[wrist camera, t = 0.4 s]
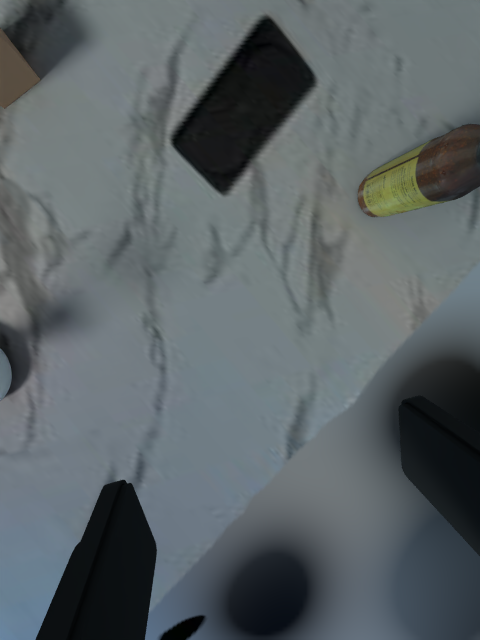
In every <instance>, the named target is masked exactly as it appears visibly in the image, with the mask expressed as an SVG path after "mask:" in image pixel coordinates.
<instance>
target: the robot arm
mask: <svg viewBox="0 0 480 640" xmlns="http://www.w3.org/2000/svg"><path fill="white" fill-rule="evenodd" d="M399 425H400V444H401V462H402V469H403V471H404V473H405V475H406V476H407V477H408V479H409V480H410V481H411V482H412V483H413V484H414V485H415V486H416V487H417V488H418V490H419V491H420V492H421V493H422V494H423V495H424V496H425V497H426V498H427V499H428V500H429V501H430V503H431V504H432V505H433V506H434V507H435V508H436V509H437V510H438V511H439V512H440V514H441V515H442V516H443V517H444V518H445V519H446V520H447V521H448V522H449V523H450V524H451V525H452V527H454V529H455V530H456V531H457V532H458V533H459V534H460V535H461V536H462V537H463V538H464V539H465V541H466V542H467V543H468V544H469V545H470V546H471V547H472V548H473V549H474V550H475V551H476V552H477V554H478V555H479V556H480V433H478V432H477V431H475V430H474V429H472V428H471V427H469V426H467V425H466V424H464V423H463V422H461V421H459V420H458V419H457V418H455V417H454V416H452V415H451V414H449V413H447V412H446V411H444V410H443V409H441V408H440V407H438V406H437V405H435V404H434V403H432V402H430V401H429V400H427V399H426V398H424V397H422V396H415V397H412V398H408V399H405V400H403V401H402V404H401V405H400V406H399ZM156 555H157V549H156V542H155V540H154V537H153V535H152V532H151V530H150V527H149V525H148V522H147V520H146V517H145V515H144V512H143V510H142V507H141V505H140V502H139V500H138V497H137V495H136V492H135V490H134V487H133V485H132V484H131V483H128V484H127V483H126V481H125V480H120V481H117V482H113V483H110V484H106V485H105V486H104V487H103V488H102V490H101V493H100V495H99V498H98V500H97V503H96V505H95V508H94V510H93V512H92V515H91V517H90V520H89V522H88V525H87V527H86V530H85V532H84V534H83V537H82V539H81V542H79V543H78V544H77V546H76V547H75V549H74V550H73V552H72V554H71V557H70V559H69V562H68V564H67V566H66V569H65V571H64V573H63V576H62V578H61V581H60V583H59V585H58V588H57V590H56V592H55V595H54V597H53V599H52V602H51V604H50V607H49V609H48V611H47V614H46V616H45V618H44V621H43V623H42V626H41V628H40V630H39V633H38V635H37V637H36V640H145V634H146V627H147V620H148V613H149V606H150V598H151V591H152V584H153V577H154V570H155V563H156Z"/></svg>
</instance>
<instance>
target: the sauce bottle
mask: <svg viewBox="0 0 480 640" xmlns="http://www.w3.org/2000/svg"><path fill="white" fill-rule="evenodd" d="M479 186H480V125H477V124H469V125H463V126H461V127H459V128H456V129H454V130H452V131H450V132H449V133H447V134H445V135H443V136H441V137H437V138H435V139H433V140H431V141H429V142H427V143H425V144H423V145H421V146H419V147H417V148H415V149H413V150H412V151H410V152H408V153H406V154H404V155H402V156H400V157H398V158H396V159H394V160H392V161H390V162H389V163H387V164H385V165H383V166H381V167H379V168H377V169H375V170H374V171H372V172H371V173H370V174H369V175H368V176H367V177H366V178H365V179H364V180H363V181H362V183H361V184H360V186H359V190H358V202H359V205H360V208H361V209H362V210H363V212H364V213H366V214H367V215H369V216H371V217H379V216H381V217H385V216H390V215H394V214H399V213H403V212H407V211H411V210H416V209H420V208H422V207H427V206H431V205H435V204H439V203H444V202H447V201H451V200H455V199H458V198H461V197H463V196H465V195H466V194H468V193H470V192H471V191H473V190H474V189H476V188H477V187H479Z"/></svg>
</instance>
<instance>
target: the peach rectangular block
mask: <svg viewBox="0 0 480 640" xmlns="http://www.w3.org/2000/svg"><path fill="white" fill-rule="evenodd" d="M39 81H40V78H39V77H38V76H37V74H36V73H35V72H34V71H33V69H32V68H31V67H30V65H29V64H28V63H27V62H26V60H25V59H24V58H23V56H22V55H21V54H20V52H19V51H18V50H17V49H16V47H15V46H14V45H13V43H12V42H11V41H10V39H9V38H8V37H7V36H6V34H5V33H4V32H3V30H2V29H1V28H0V106H2V107H3V108H4V109H5V108H6V107H8V106H9V105H10V104H11V103H13V102H14V101H15V100H16V99H18V98H19V97H20V96H21V95H23V94H24V93H25V92H27V91H28V90H29V89H30V88H32V87H33V86H34V85H35V84H37V83H38V82H39Z"/></svg>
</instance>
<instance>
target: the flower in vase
mask: <svg viewBox="0 0 480 640" xmlns="http://www.w3.org/2000/svg"><path fill="white" fill-rule="evenodd" d="M11 379H12V373H11V366H10V363H9V360H8V358H7V356H6V355H5V353H4V352H3V351H2V349H1V348H0V401H1V400H2V399H3V398H4V396H5V395H6V394H7V392H8V390H9V388H10V385H11Z"/></svg>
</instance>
